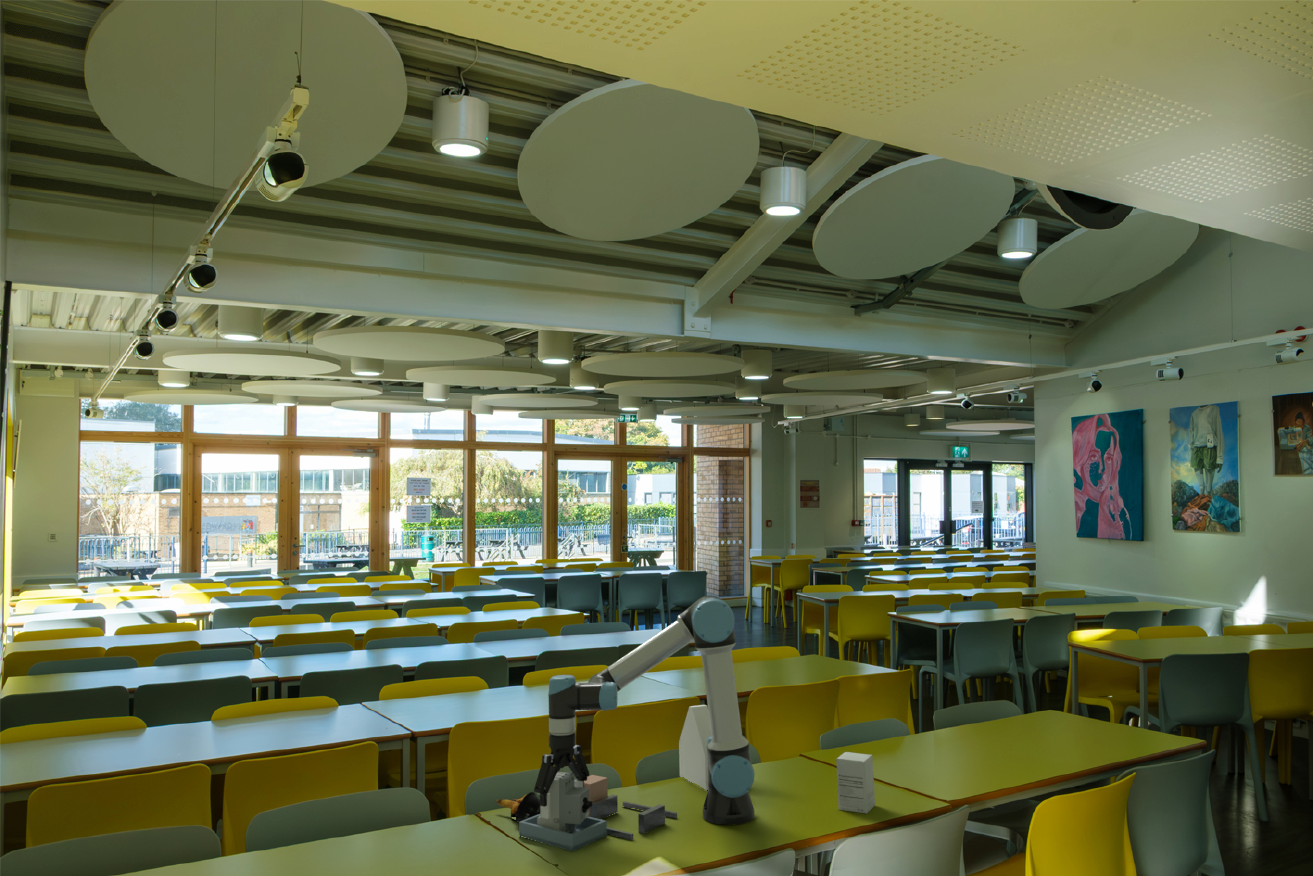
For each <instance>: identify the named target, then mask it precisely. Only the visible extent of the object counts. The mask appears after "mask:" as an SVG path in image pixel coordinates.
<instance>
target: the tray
mask: <svg viewBox="0 0 1313 876" xmlns="http://www.w3.org/2000/svg"><path fill="white" fill-rule="evenodd" d="M539 816H540V814H538V815H535V816H533V817H530V818H528V819H525V820H523V821H520V822H518V836H519V835H520V836H523V837H526V838H529V839H532V840H536V841H538V842H537V843H540V842H542V843H541V844H543V843H545V844H544V845H547V844H548V846H550V847H554V846H557V847H556V848H558V847H559V848H558V849H562V848H563V850H566V851H570V852H575V851H578V850H579V849H582V848H583V846H584V847H586V846H588V845H590V844H593V843H594V842H596V841H599V840H601V839H603V838H605V837H607V836H608V834H607V827H608V825H607V820H604V819H602V820H601V819H597V818H592V817H587V818H586V819H585V820H584V821H583V822H582V823H581V824H575V828H574V829H573V830H572V831H571V832H570V833H567V832H563V831H559V830H555V829H551V828H548V827H544V826H540V825H537V818H538V817H539ZM606 835H607V836H606ZM602 837H603V838H602ZM529 839H528V840H529ZM532 840H531V841H532ZM536 841H535V842H536ZM581 847H582V848H581Z"/></svg>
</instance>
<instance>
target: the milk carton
mask: <svg viewBox="0 0 1313 876" xmlns="http://www.w3.org/2000/svg"><path fill="white" fill-rule="evenodd" d="M710 736H712V735H711V727H710V719H709V711H708V704H707V705H706V704H699V705H691V706H689V707H688V710H687V713H686V716H685V720H684V723H683V726H682V730H681V734H680V737H679V741H678V747H679V748H678V752H679V753H678V754H679V755H678V757H679V758H678V759H679V777H680V778H682V777H684V778H685V779H687V780H688V781H687V780H686V781H687V782H689V781H690V782H689V783H691V782H692V783H695V784H697V785H699V786H700V787H702V788H704V789H705V790H708V760H707V747H706V746H707V740H708V738H709V737H710ZM684 778H683V779H684ZM685 779H684V780H685ZM692 783H691V784H692ZM700 787H699V788H700ZM705 790H704V791H705Z"/></svg>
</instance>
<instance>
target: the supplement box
mask: <svg viewBox="0 0 1313 876" xmlns="http://www.w3.org/2000/svg"><path fill="white" fill-rule="evenodd" d="M873 760H874V759H873V755H872V754H866V753H858V752H849V751H845V752H843V753H842V754H840V755H839V756H838V757H836V777H837V778H836V782H837V801H838V802H837V803H838V804H837V805H838V810H839V811H846V812H854V813H861V814H865V815H866V814H868V813H870V811H871V810H872V809H873V808H874V807H875V805H876V799H875V780H874V762H873Z"/></svg>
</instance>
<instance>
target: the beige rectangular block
mask: <svg viewBox="0 0 1313 876" xmlns="http://www.w3.org/2000/svg"><path fill="white" fill-rule="evenodd" d="M608 785H609V784H608V777H605V776H601V775H595V774H590V775H589V776H588V777H587V780H586V781H584V787H585V788H589V801H592V802H595V801H597V800H600V799H602V798H605V797H607V796H609V795H608V793H609V789H608ZM588 817H591V807H590V808H589V816H588Z"/></svg>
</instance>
